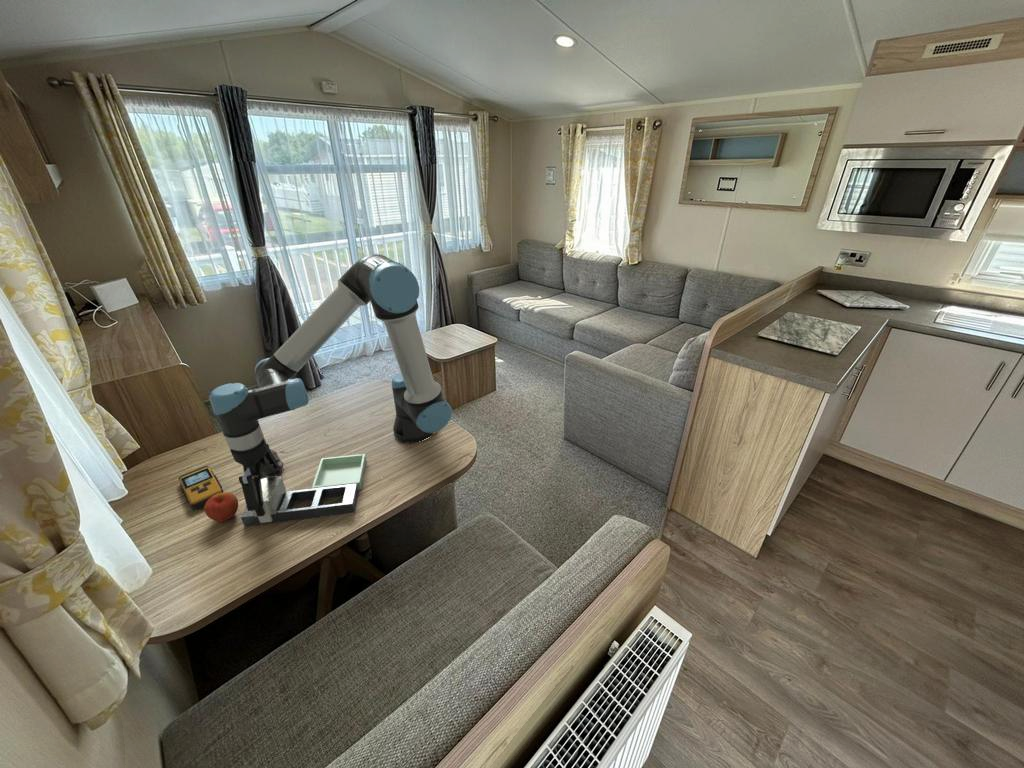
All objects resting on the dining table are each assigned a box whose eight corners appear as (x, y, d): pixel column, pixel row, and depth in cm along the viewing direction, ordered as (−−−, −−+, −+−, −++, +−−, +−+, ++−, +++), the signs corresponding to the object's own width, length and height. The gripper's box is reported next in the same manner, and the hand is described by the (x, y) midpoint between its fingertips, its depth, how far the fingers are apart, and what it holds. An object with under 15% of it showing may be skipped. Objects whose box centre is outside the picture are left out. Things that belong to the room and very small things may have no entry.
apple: (231, 503, 113) (222, 482, 109) (248, 512, 111) (239, 491, 107) (204, 521, 108) (193, 499, 104) (221, 531, 105) (211, 509, 101)
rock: (264, 484, 120) (259, 472, 118) (245, 469, 126) (240, 458, 124) (290, 469, 126) (286, 458, 124) (270, 456, 132) (267, 444, 130)
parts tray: (366, 461, 130) (365, 453, 129) (361, 489, 119) (359, 482, 117) (323, 465, 128) (321, 458, 126) (313, 495, 117) (311, 487, 115)
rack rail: (358, 492, 118) (356, 483, 116) (354, 512, 111) (352, 503, 109) (255, 504, 113) (251, 495, 111) (244, 526, 106) (240, 517, 105)
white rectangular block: (288, 497, 115) (281, 476, 111) (279, 522, 107) (270, 500, 103) (269, 500, 114) (260, 478, 110) (258, 525, 106) (248, 503, 102)
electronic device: (193, 514, 110) (188, 505, 109) (180, 485, 120) (175, 476, 118) (227, 498, 116) (223, 489, 114) (212, 471, 125) (209, 463, 123)
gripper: (247, 419, 107) (270, 481, 119) (210, 474, 89) (242, 542, 100) (277, 416, 109) (297, 478, 120) (247, 470, 90) (274, 537, 101)
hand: (272, 507), depth 110 cm, fingers closed on white rectangular block, 9 cm apart
